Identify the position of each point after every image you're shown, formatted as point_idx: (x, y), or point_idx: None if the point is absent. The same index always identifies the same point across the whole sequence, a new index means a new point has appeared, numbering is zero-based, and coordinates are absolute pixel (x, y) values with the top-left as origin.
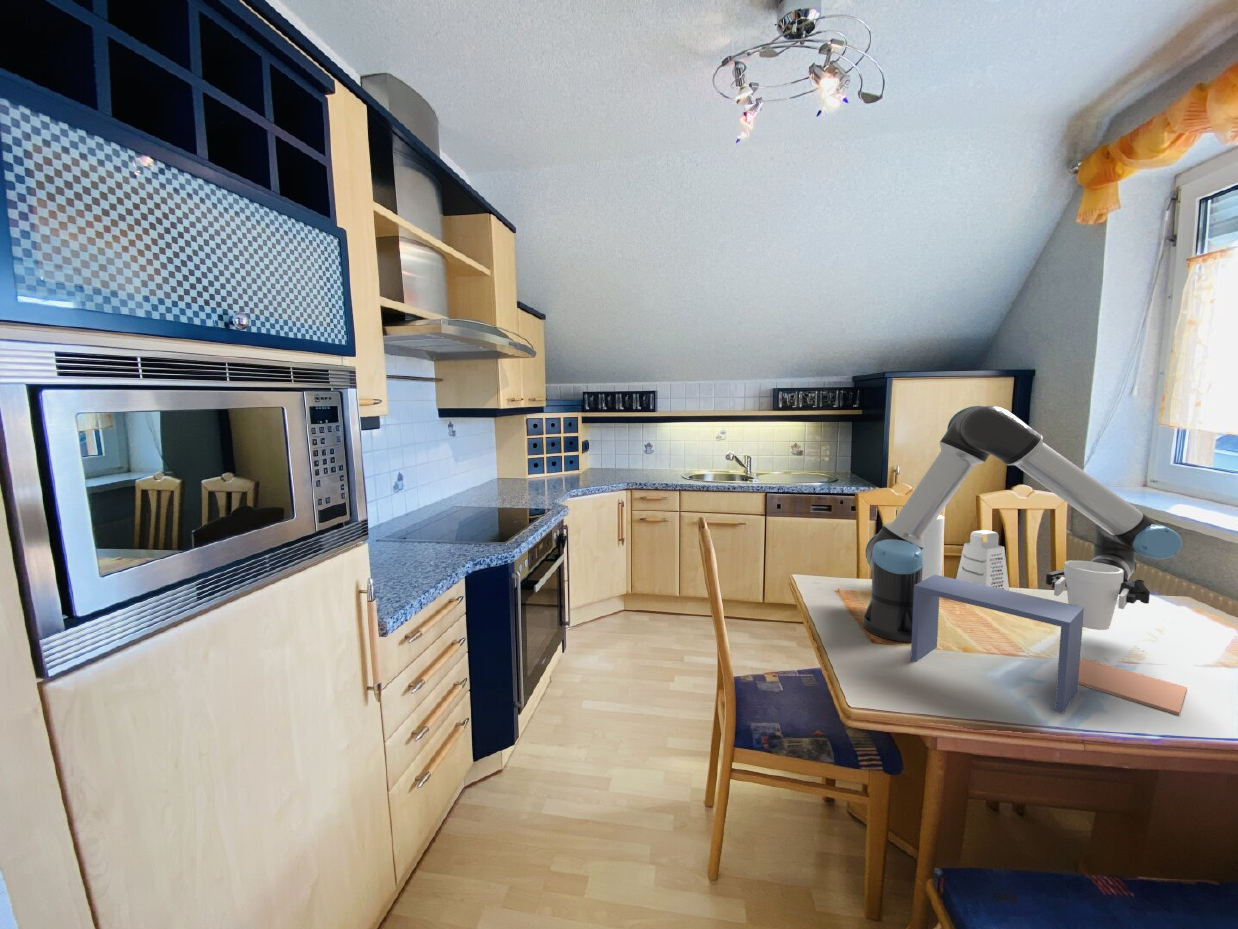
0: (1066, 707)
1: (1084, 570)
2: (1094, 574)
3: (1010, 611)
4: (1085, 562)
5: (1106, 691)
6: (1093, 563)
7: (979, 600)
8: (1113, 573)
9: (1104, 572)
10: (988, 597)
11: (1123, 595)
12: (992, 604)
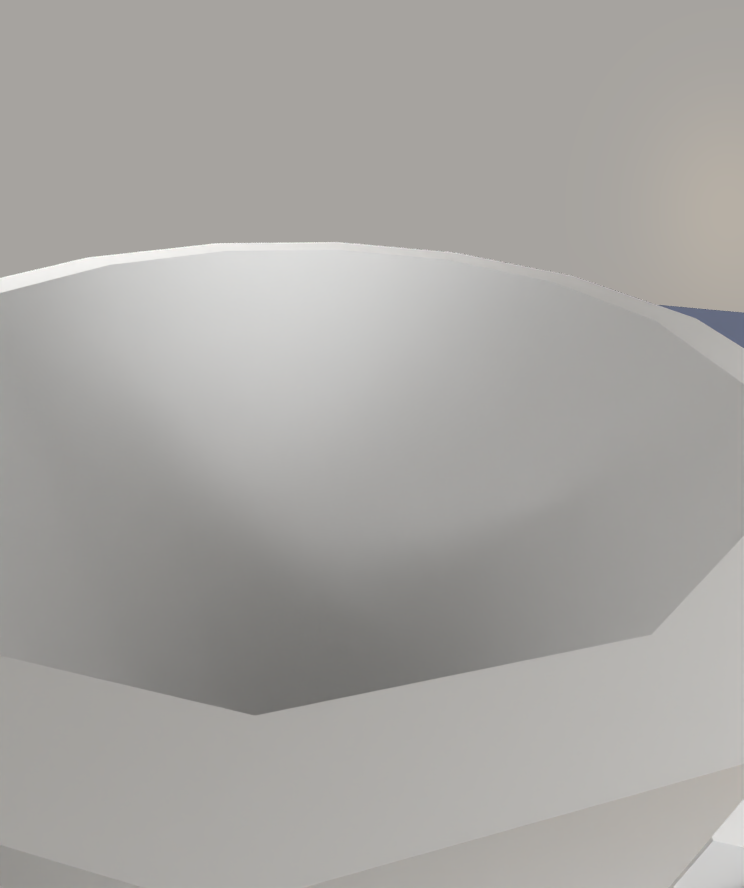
0: None
1: (430, 251)
2: (342, 272)
3: None
4: (486, 692)
5: None
6: (182, 738)
7: (727, 313)
8: (158, 252)
9: (248, 247)
10: (740, 336)
11: None
12: (673, 307)
